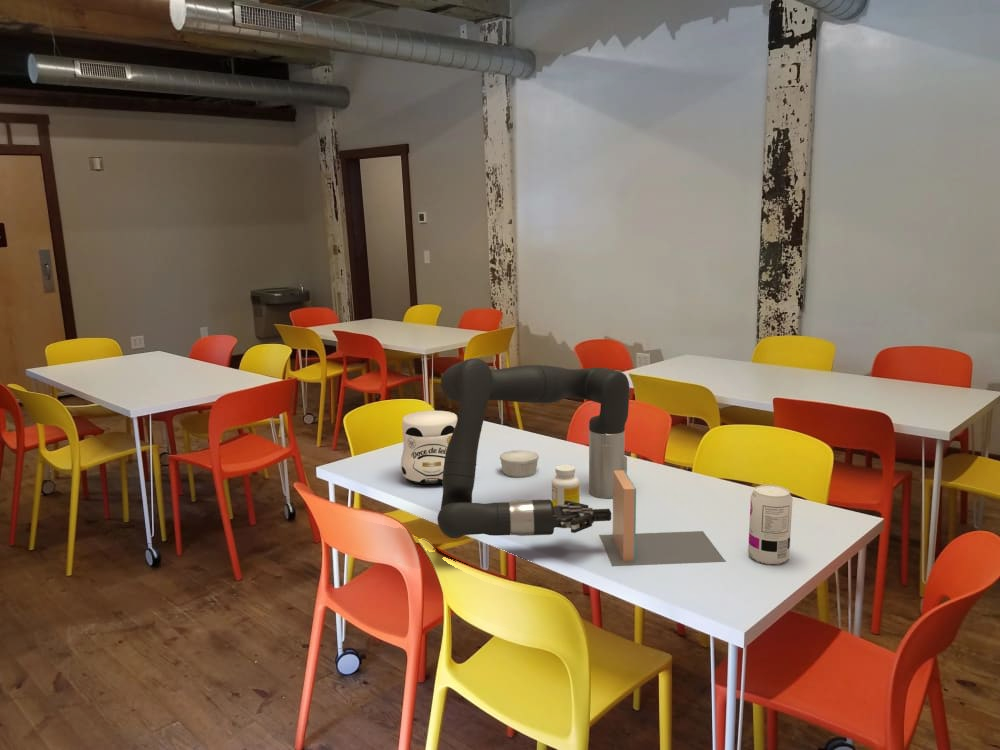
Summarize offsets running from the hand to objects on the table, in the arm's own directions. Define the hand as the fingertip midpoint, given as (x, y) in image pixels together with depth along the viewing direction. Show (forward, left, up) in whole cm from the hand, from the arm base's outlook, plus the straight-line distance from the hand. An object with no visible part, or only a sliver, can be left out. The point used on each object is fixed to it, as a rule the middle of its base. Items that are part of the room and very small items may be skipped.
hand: (610, 514), depth 166 cm
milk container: (+4, -66, -9) cm, 67 cm away
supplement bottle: (-5, -20, -9) cm, 23 cm away
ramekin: (-18, -54, -9) cm, 58 cm away
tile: (-2, +2, -8) cm, 9 cm away
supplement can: (-23, +24, -9) cm, 34 cm away
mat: (-9, +6, -9) cm, 14 cm away
